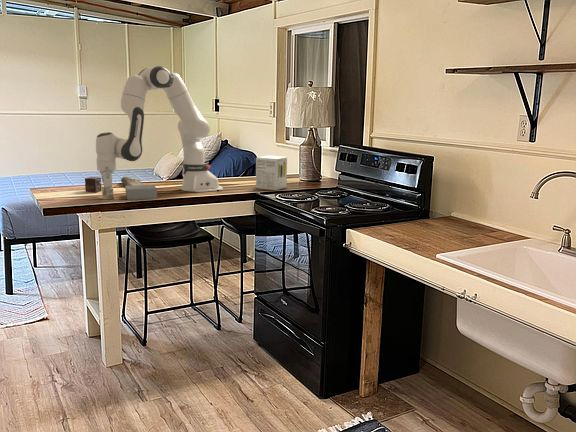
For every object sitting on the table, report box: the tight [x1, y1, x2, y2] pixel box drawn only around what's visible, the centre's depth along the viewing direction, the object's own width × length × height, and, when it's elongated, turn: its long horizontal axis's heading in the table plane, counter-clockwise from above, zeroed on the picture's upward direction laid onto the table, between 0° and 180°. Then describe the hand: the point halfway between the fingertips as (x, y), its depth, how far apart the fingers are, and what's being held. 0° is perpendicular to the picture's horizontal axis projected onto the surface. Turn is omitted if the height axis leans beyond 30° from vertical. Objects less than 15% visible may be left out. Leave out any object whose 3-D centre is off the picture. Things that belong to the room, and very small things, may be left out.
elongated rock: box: [120, 176, 145, 187], centre depth 310 cm, size 35×5×10 cm
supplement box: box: [255, 155, 288, 191], centre depth 315 cm, size 13×13×18 cm
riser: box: [124, 184, 158, 201], centre depth 281 cm, size 14×12×5 cm
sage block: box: [101, 186, 114, 200], centre depth 275 cm, size 5×5×5 cm
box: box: [84, 176, 102, 194], centre depth 293 cm, size 6×6×7 cm
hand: (107, 194), depth 275 cm, fingers closed on sage block, 5 cm apart
